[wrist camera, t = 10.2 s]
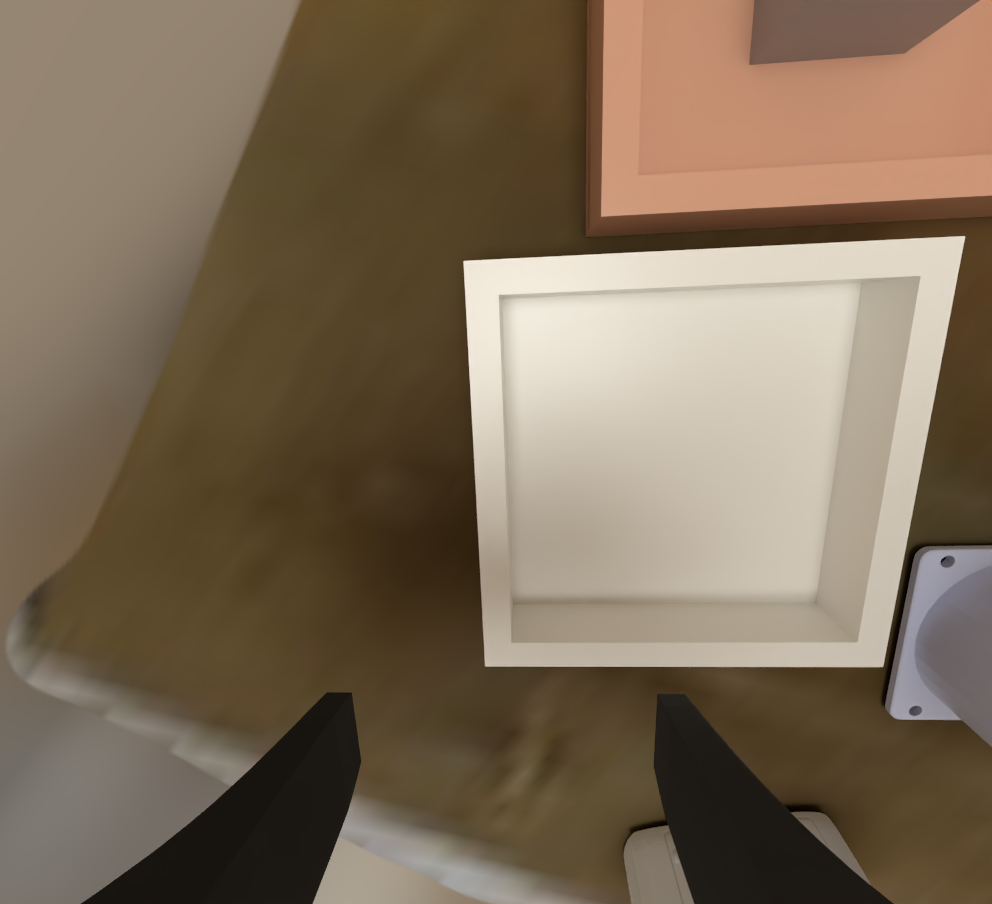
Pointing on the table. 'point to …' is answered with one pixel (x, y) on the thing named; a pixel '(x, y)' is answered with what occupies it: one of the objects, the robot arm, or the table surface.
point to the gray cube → (844, 27)
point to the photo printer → (660, 874)
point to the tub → (701, 449)
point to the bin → (778, 125)
